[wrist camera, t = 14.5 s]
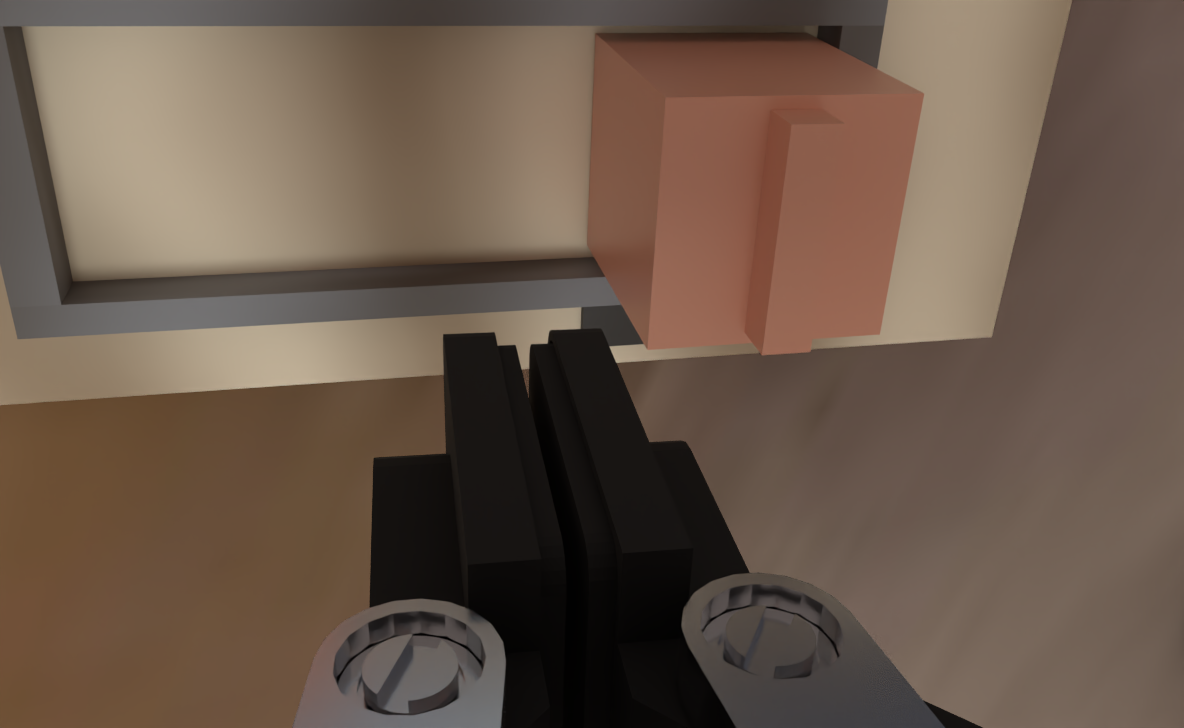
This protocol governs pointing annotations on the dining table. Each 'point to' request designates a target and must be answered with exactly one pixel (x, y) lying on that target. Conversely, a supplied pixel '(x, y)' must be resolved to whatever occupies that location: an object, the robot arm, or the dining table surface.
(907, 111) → the tab
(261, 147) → the switch board
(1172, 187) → the dining table surface
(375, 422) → the dining table surface
